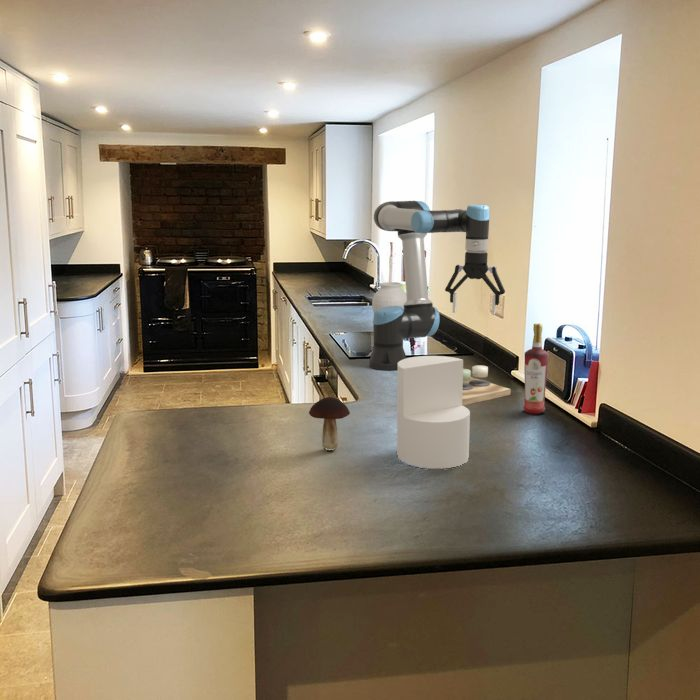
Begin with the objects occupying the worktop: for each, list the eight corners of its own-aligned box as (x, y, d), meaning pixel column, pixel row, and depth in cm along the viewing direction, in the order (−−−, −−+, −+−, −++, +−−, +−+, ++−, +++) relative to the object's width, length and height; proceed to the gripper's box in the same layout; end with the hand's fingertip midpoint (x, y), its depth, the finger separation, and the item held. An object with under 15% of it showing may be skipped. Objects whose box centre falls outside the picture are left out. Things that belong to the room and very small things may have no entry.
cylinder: (385, 450, 194) (385, 360, 188) (445, 440, 201) (447, 353, 196) (418, 474, 177) (419, 376, 172) (482, 462, 184) (485, 368, 179)
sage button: (451, 378, 247) (451, 370, 246) (463, 376, 249) (463, 367, 249) (461, 381, 242) (462, 373, 241) (473, 379, 245) (474, 371, 244)
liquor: (547, 410, 227) (552, 323, 221) (543, 416, 220) (548, 327, 214) (524, 407, 230) (528, 321, 224) (519, 414, 223) (523, 325, 217)
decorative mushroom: (355, 446, 197) (355, 393, 194) (342, 460, 187) (341, 404, 184) (318, 442, 201) (317, 390, 197) (303, 455, 190) (301, 401, 187)
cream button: (468, 375, 251) (468, 366, 250) (480, 372, 254) (480, 364, 253) (479, 378, 246) (479, 369, 246) (491, 376, 249) (491, 367, 249)
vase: (410, 338, 337) (410, 285, 331) (372, 339, 337) (372, 286, 331) (408, 331, 354) (408, 280, 348) (371, 331, 354) (371, 281, 349)
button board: (414, 391, 250) (414, 384, 249) (466, 380, 262) (466, 374, 262) (456, 406, 231) (457, 399, 231) (510, 394, 244) (510, 387, 244)
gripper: (437, 251, 244) (436, 312, 249) (512, 253, 236) (509, 317, 241) (442, 249, 251) (440, 309, 256) (515, 251, 243) (511, 313, 248)
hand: (473, 313), depth 248 cm, fingers open, 13 cm apart
